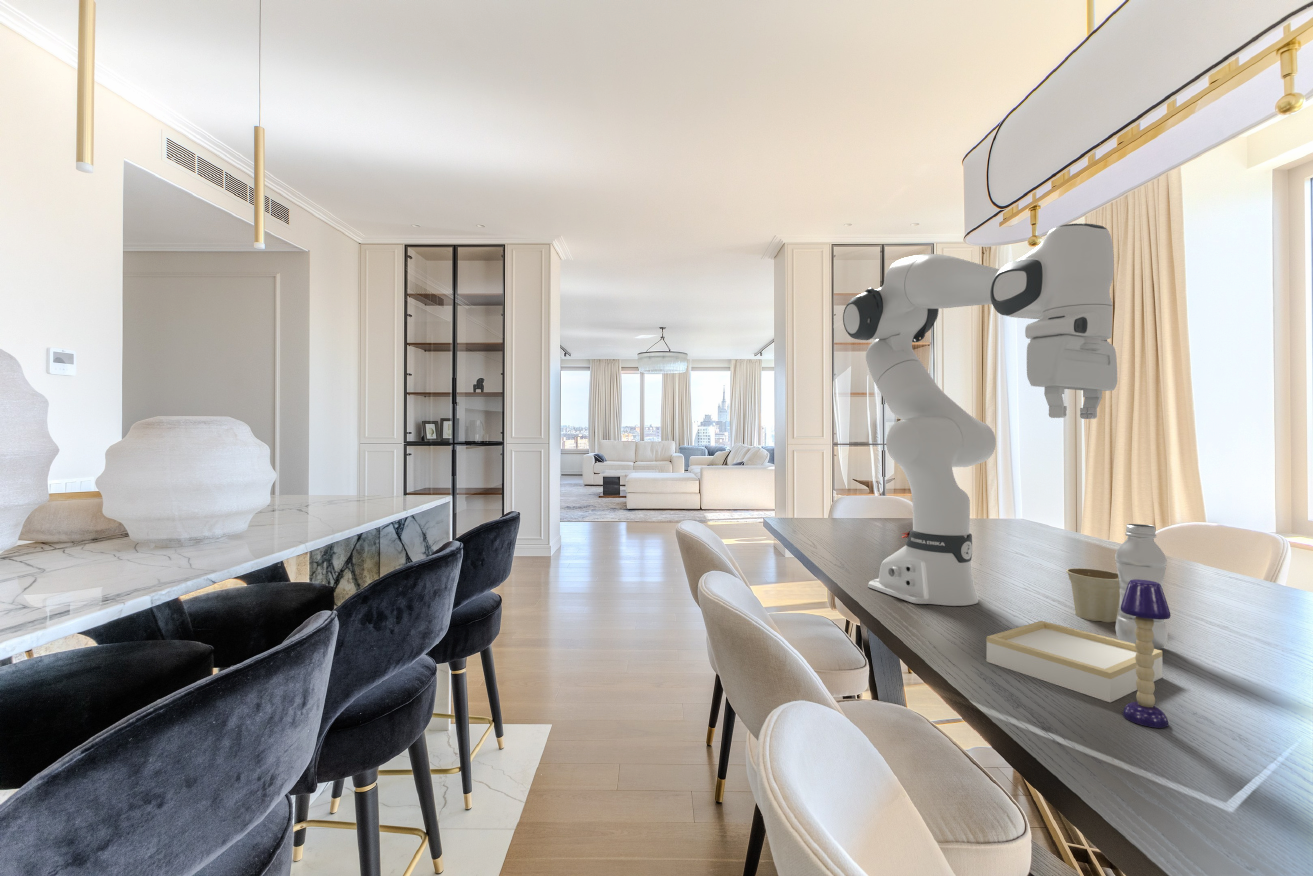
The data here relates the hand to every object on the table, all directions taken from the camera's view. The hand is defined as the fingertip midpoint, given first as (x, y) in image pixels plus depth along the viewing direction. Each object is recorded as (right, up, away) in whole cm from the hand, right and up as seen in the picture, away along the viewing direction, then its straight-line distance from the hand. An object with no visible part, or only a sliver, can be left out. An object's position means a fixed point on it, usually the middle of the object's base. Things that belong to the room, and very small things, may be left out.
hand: (1073, 418), depth 90 cm
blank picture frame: (-3, -37, -4) cm, 38 cm away
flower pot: (+19, -38, +20) cm, 47 cm away
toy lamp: (-5, -37, -20) cm, 43 cm away
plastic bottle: (+15, -38, +5) cm, 40 cm away
